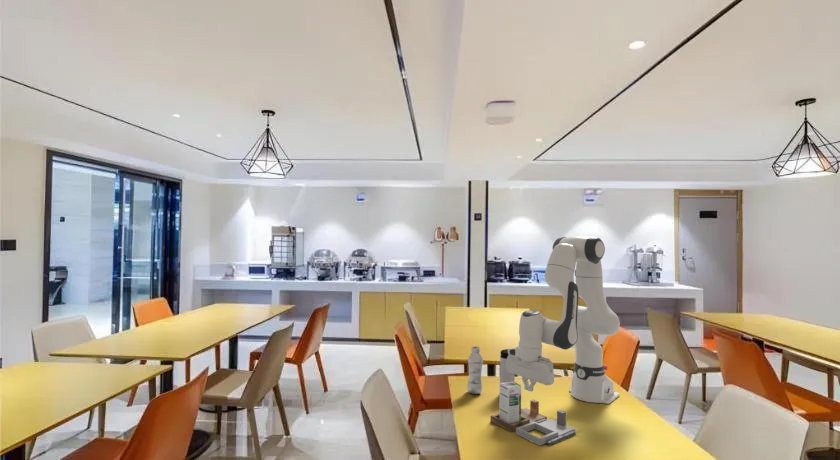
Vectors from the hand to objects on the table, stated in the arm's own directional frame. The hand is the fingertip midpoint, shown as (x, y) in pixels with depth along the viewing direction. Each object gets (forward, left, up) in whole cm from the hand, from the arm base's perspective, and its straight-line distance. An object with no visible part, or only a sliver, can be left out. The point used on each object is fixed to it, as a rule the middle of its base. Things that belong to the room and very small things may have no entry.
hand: (528, 390), depth 157 cm
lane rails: (+5, +6, -10) cm, 13 cm away
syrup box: (+10, 0, -10) cm, 15 cm away
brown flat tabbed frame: (+5, 0, -10) cm, 12 cm away
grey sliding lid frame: (+5, +12, -10) cm, 17 cm away
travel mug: (-11, -20, -10) cm, 25 cm away
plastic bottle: (-1, -30, -10) cm, 32 cm away
